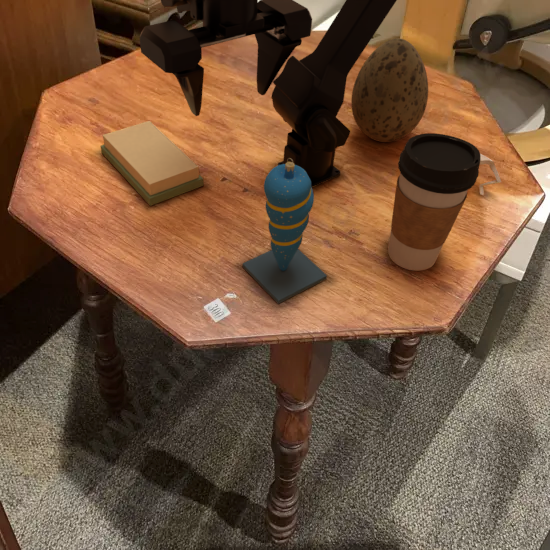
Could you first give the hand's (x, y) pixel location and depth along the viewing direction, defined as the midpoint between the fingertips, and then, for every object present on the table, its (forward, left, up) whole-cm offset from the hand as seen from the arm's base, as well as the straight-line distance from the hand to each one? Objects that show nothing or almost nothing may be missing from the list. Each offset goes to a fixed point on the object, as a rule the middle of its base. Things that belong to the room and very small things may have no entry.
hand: (229, 103), depth 71 cm
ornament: (+3, +16, -13) cm, 20 cm away
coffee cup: (-12, +22, -13) cm, 28 cm away
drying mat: (+3, +16, -13) cm, 21 cm away
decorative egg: (-27, +1, -13) cm, 30 cm away
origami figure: (-27, +15, -13) cm, 34 cm away
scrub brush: (+6, -10, -13) cm, 17 cm away
